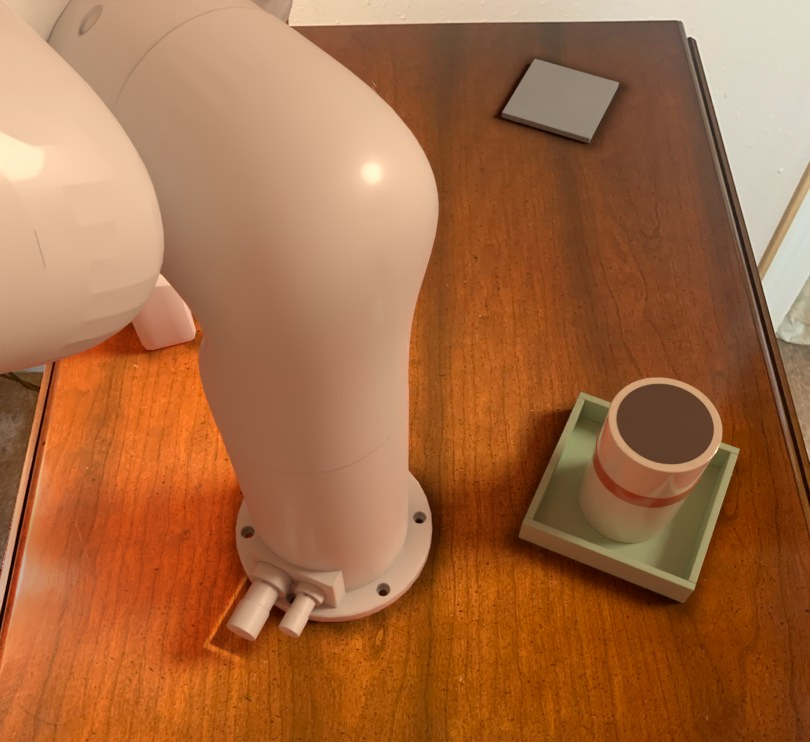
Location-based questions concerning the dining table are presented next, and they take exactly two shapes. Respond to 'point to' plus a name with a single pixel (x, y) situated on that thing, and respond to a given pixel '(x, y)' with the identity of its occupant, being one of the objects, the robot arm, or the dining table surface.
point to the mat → (560, 100)
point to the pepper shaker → (164, 318)
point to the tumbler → (648, 458)
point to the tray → (635, 562)
